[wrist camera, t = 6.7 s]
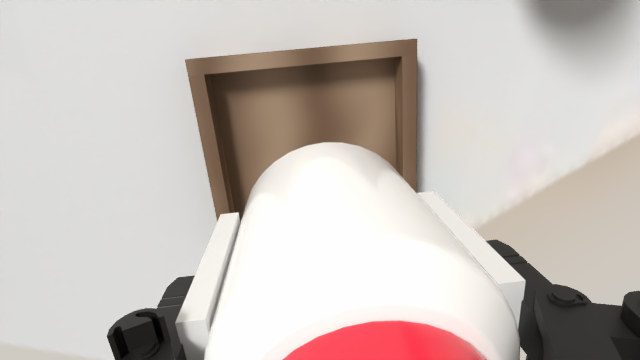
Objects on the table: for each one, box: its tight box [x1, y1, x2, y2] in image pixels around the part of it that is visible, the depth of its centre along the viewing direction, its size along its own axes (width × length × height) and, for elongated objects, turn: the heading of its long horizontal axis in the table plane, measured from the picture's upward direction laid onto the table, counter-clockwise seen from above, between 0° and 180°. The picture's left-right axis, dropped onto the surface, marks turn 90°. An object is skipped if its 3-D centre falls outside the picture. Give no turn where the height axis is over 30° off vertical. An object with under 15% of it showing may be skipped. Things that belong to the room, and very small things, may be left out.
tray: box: [185, 39, 417, 222], centre depth 27 cm, size 15×15×2 cm
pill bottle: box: [204, 142, 520, 360], centre depth 12 cm, size 8×8×11 cm
